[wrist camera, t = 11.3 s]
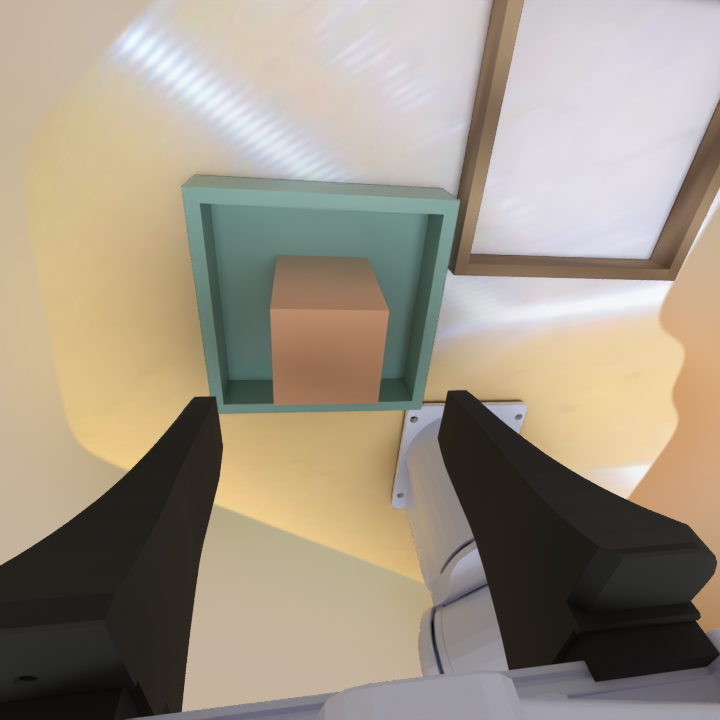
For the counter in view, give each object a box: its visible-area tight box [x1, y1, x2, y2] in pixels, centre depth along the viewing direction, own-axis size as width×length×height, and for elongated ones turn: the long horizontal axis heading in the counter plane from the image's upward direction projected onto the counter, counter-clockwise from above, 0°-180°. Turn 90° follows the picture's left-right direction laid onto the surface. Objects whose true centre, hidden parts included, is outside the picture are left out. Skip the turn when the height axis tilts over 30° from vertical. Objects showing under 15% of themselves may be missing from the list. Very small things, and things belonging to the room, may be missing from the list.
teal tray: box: [181, 175, 460, 414], centre depth 21 cm, size 11×11×3 cm
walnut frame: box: [448, 0, 720, 281], centre depth 19 cm, size 12×12×2 cm
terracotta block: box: [270, 255, 389, 405], centre depth 20 cm, size 4×4×6 cm
